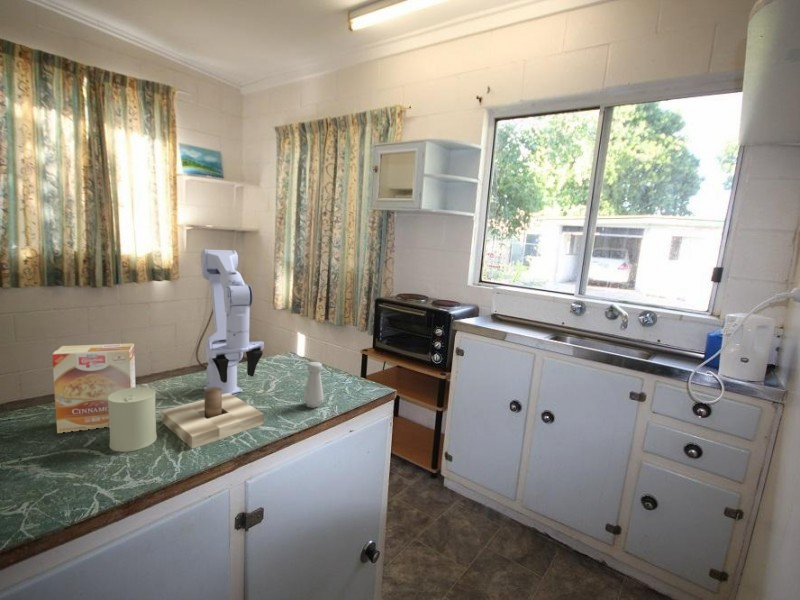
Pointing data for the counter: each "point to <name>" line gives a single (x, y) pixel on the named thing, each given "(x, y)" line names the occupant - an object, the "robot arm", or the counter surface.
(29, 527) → the counter surface
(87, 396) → the coffeecake box
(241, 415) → the socket block
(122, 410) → the can
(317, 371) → the salt shaker
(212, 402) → the peg
